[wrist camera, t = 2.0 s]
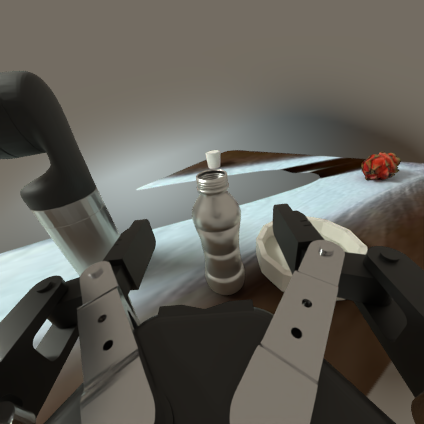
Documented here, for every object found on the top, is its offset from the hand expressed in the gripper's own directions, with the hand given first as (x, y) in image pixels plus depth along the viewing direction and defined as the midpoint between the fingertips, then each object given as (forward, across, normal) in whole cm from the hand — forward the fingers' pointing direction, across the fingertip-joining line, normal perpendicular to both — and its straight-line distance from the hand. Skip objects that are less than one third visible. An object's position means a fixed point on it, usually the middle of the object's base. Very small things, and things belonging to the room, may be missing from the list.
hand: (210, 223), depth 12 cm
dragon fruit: (+46, -49, +21) cm, 70 cm away
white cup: (+78, +2, +20) cm, 80 cm away
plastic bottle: (+12, 0, +21) cm, 24 cm away
